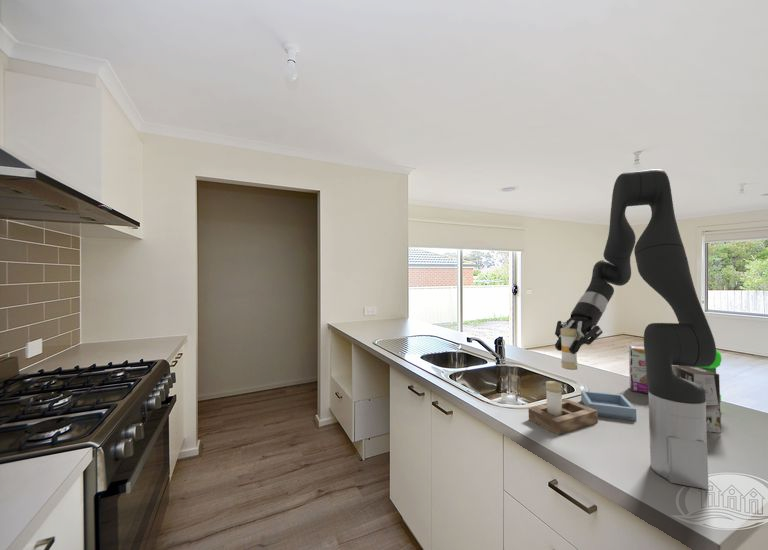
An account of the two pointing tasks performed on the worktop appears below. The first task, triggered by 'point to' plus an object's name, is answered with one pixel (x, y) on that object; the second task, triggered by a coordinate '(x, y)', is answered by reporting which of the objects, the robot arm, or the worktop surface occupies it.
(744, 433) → the worktop surface
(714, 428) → the coffee box
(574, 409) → the fuse holder
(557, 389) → the cylinder
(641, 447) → the worktop surface
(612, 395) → the tray
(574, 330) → the cylinder
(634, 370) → the candy bar box
